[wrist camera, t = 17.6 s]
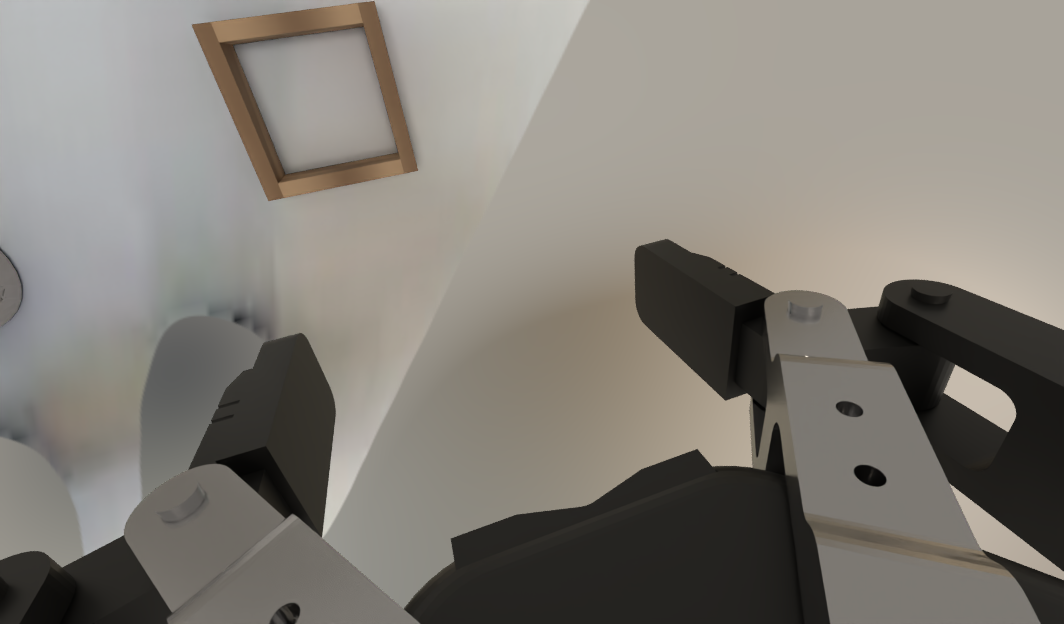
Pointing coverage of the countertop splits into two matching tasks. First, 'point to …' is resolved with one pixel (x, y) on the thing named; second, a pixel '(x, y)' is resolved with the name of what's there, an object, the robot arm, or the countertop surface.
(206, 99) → the countertop surface
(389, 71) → the shallow wooden tray
